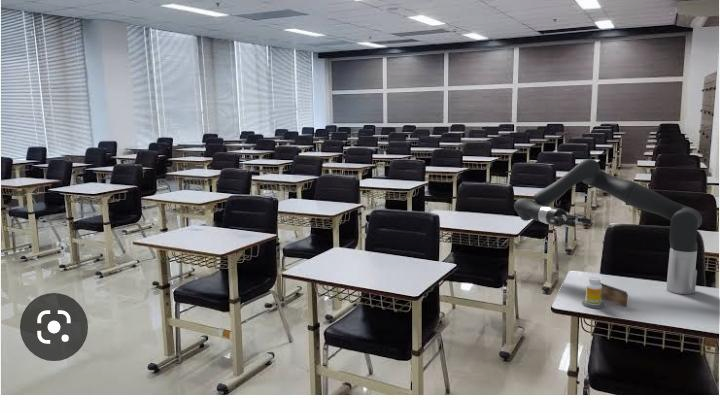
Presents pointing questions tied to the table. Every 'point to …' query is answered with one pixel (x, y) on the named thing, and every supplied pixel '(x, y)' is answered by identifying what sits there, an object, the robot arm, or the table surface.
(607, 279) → the table surface
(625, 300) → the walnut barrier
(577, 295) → the table surface
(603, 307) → the charcoal mat
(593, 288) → the supplement bottle
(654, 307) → the table surface
